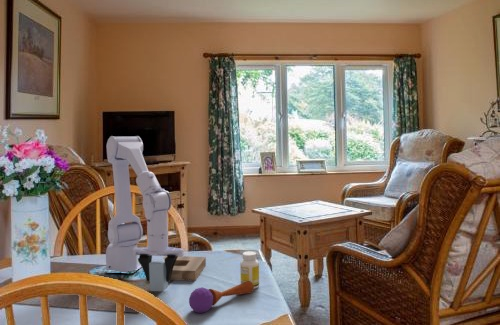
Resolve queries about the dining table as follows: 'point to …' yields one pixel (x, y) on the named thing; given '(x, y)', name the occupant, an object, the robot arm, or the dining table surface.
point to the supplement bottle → (250, 268)
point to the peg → (157, 275)
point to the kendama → (215, 296)
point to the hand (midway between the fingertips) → (158, 280)
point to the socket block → (188, 268)
